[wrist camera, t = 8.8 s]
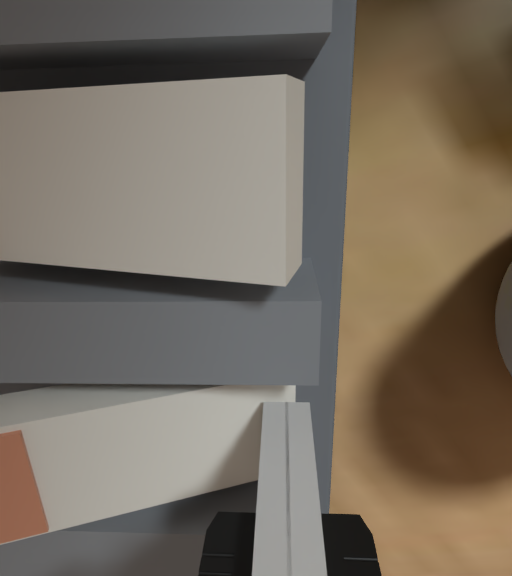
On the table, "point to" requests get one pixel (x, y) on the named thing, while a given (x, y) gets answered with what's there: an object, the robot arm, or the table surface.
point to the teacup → (505, 319)
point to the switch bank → (170, 289)
